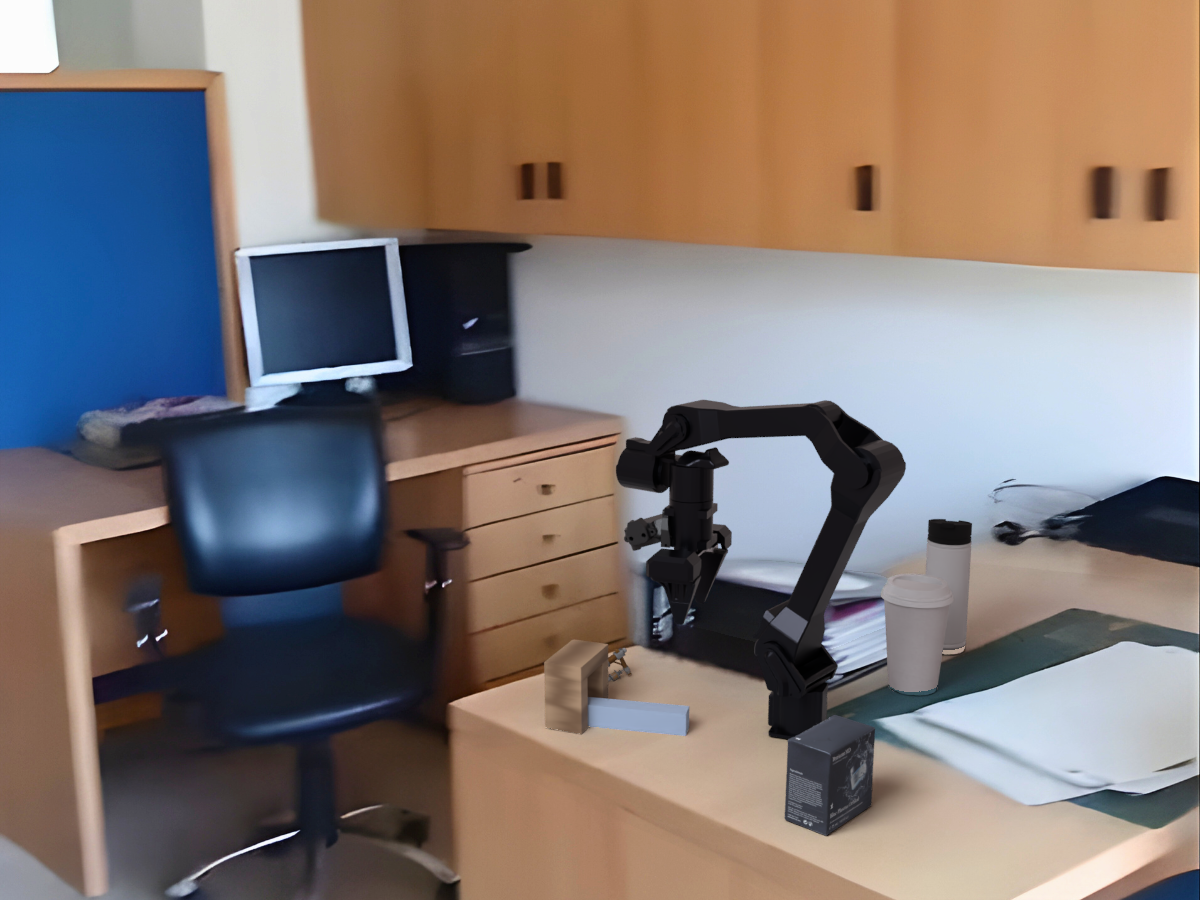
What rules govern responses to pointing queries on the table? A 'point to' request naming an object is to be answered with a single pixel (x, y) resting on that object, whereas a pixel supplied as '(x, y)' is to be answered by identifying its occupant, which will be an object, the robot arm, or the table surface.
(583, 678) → the wooden block
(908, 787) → the table surface
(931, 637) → the coffee cup
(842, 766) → the box
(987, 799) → the table surface
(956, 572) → the travel mug
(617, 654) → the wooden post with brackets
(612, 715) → the light blue rectangular bar
